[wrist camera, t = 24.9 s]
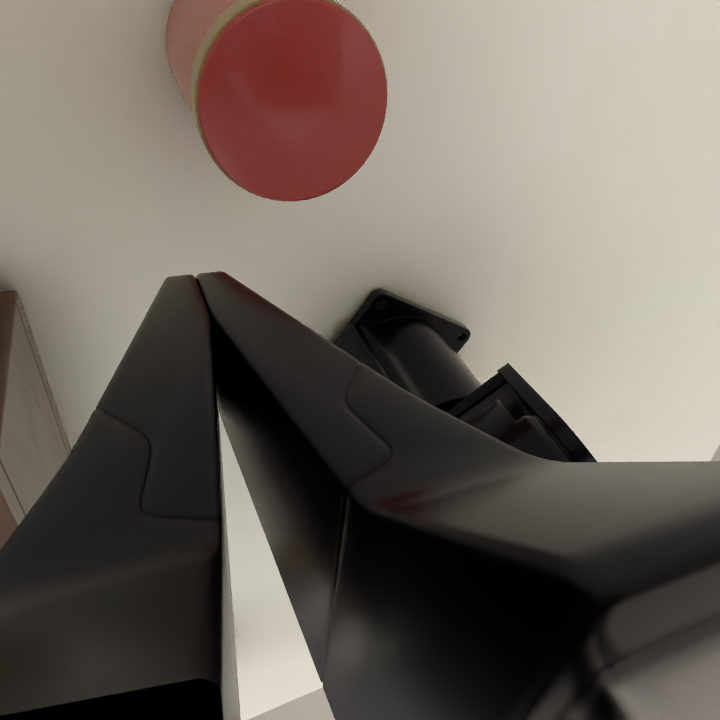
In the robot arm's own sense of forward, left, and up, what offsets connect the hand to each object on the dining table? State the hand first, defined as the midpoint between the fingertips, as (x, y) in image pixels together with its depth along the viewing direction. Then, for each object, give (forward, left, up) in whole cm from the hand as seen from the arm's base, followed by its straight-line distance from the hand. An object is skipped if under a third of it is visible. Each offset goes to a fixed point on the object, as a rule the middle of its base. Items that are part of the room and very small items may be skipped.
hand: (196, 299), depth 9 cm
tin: (-2, -2, -12) cm, 13 cm away
